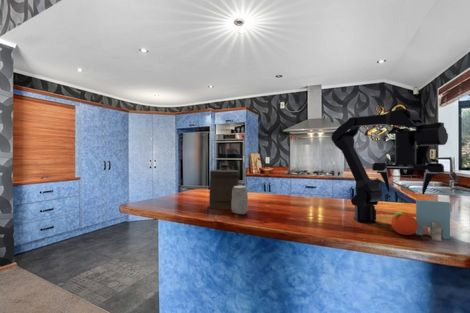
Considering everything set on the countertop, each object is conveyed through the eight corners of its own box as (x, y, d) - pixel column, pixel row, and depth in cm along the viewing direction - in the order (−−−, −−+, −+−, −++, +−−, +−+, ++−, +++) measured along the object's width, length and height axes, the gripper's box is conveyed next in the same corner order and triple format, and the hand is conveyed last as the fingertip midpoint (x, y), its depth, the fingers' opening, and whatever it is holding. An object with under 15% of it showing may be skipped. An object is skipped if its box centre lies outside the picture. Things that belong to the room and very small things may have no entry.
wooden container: (244, 205, 117) (244, 162, 117) (227, 211, 104) (228, 163, 105) (220, 202, 125) (221, 162, 125) (203, 207, 112) (203, 162, 113)
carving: (250, 214, 100) (250, 186, 100) (236, 216, 95) (236, 187, 96) (242, 211, 105) (242, 185, 105) (228, 213, 101) (228, 186, 101)
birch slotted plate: (432, 240, 69) (432, 223, 69) (428, 231, 77) (428, 216, 77) (441, 241, 68) (441, 224, 68) (436, 232, 76) (436, 217, 76)
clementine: (397, 238, 70) (397, 215, 70) (383, 231, 77) (383, 210, 77) (423, 238, 70) (423, 215, 70) (406, 231, 77) (406, 210, 77)
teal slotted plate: (416, 234, 74) (416, 200, 74) (415, 232, 76) (415, 199, 76) (449, 239, 69) (450, 203, 69) (448, 237, 71) (448, 202, 71)
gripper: (438, 146, 78) (438, 192, 78) (374, 148, 89) (374, 188, 88) (444, 145, 69) (444, 197, 69) (372, 146, 79) (372, 191, 79)
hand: (405, 192), depth 77 cm, fingers open, 9 cm apart
